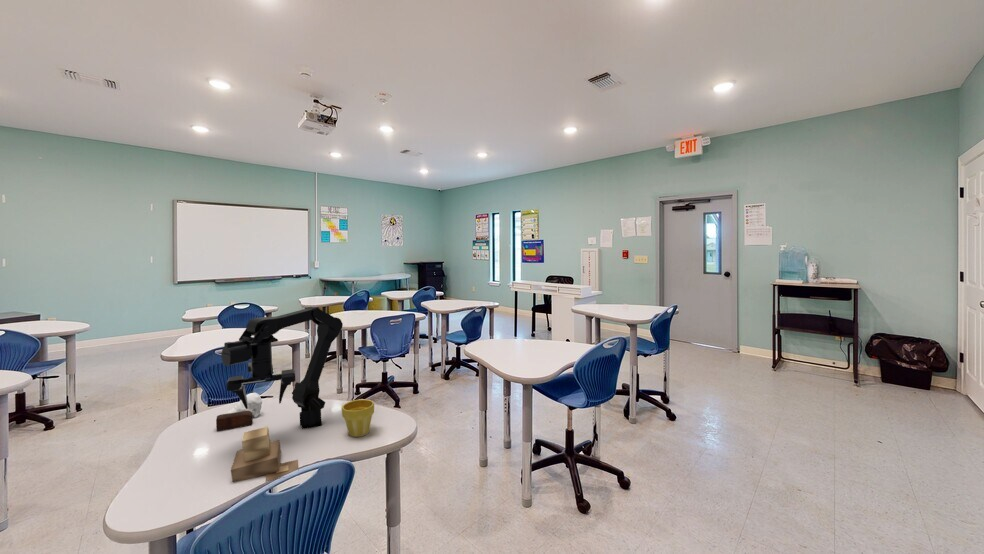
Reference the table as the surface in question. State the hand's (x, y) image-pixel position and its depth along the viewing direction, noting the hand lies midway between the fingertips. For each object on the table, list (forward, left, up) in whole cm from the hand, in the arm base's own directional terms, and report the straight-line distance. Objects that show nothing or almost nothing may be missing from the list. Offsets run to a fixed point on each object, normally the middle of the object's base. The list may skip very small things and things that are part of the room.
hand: (263, 405), depth 128 cm
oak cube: (+1, +16, -8) cm, 18 cm away
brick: (+10, -19, -13) cm, 25 cm away
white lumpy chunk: (+8, -25, -13) cm, 29 cm away
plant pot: (-28, +6, -13) cm, 31 cm away
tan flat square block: (+1, +16, -12) cm, 20 cm away
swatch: (-5, +21, -12) cm, 25 cm away
